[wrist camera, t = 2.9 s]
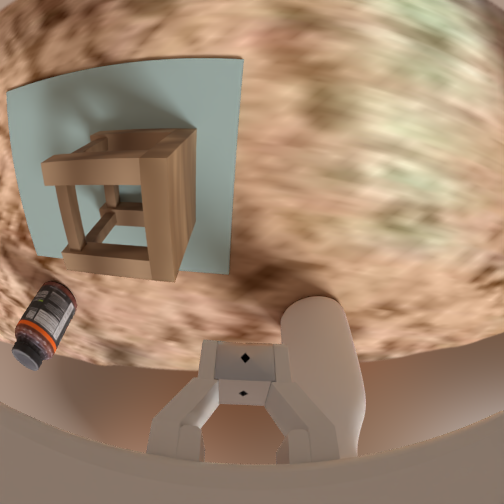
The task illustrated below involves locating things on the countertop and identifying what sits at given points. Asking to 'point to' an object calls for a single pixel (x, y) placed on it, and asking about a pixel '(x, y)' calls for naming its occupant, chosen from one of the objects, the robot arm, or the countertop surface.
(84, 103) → the mat
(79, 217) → the open wooden box
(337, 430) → the milk bottle
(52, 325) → the supplement bottle
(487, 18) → the countertop surface
